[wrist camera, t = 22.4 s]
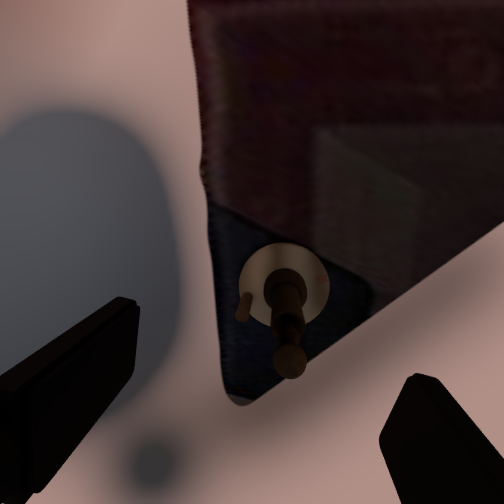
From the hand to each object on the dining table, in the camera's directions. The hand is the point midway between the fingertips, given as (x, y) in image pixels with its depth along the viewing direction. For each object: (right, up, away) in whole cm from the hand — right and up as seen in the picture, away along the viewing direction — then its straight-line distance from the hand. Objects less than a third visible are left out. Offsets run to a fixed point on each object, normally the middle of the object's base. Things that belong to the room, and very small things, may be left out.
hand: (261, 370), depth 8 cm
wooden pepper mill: (+5, -2, +30) cm, 30 cm away
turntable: (+5, -1, +31) cm, 32 cm away
